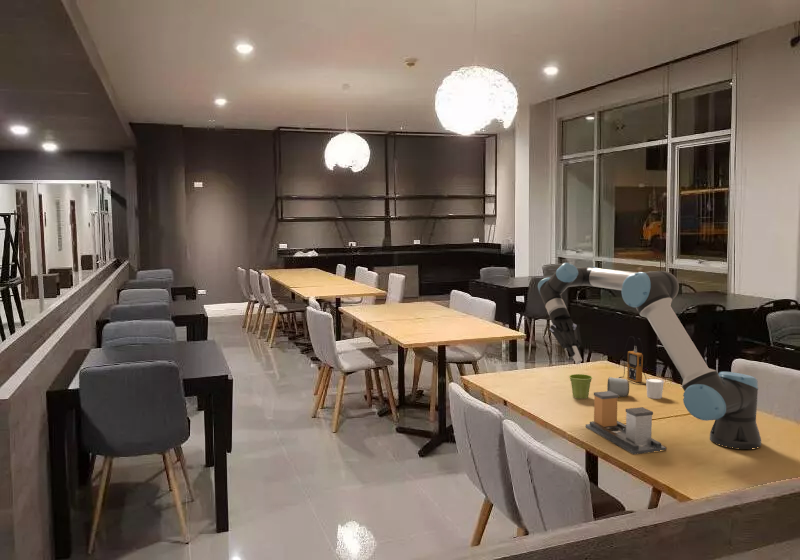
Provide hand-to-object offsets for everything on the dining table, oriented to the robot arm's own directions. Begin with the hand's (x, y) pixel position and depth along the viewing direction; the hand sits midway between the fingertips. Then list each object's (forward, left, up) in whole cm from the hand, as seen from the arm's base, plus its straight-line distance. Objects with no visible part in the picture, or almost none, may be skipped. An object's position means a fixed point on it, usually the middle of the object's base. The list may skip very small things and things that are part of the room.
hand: (579, 362), depth 248 cm
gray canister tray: (-28, +7, -20) cm, 35 cm away
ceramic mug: (+10, -33, -20) cm, 40 cm away
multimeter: (+23, -55, -20) cm, 63 cm away
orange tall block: (-17, +5, -18) cm, 26 cm away
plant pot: (+16, -18, -20) cm, 31 cm away
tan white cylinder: (0, -44, -20) cm, 48 cm away
